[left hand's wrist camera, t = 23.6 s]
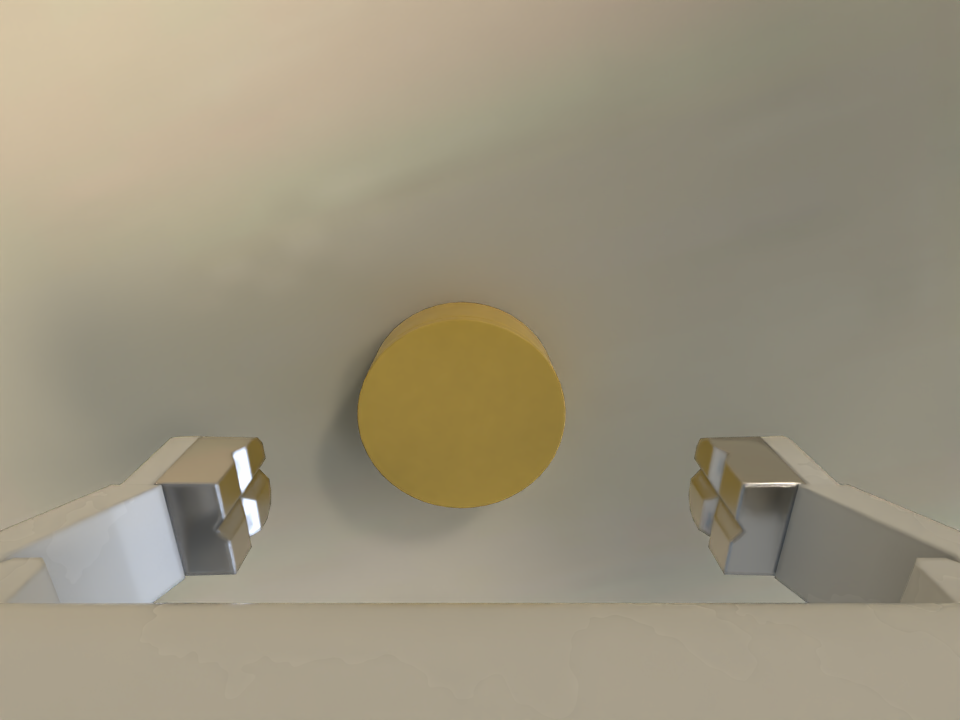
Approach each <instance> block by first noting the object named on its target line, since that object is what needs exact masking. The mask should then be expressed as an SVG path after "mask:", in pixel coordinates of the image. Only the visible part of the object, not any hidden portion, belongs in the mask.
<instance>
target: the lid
mask: <svg viewBox="0 0 960 720" xmlns="http://www.w3.org/2000/svg"><path fill="white" fill-rule="evenodd" d="M357 419H358V427H359V433H360V436H361V440H362V443H363V445H364V448H365V450H366V452H367V454H368V456H369V458H370V459H371V461H372V462H373V464H374V466H375V467H376V468H377V469H378V470H379V472H380V473H381V474H382V475H383V476H384V477H385V478H386V479H387V480H388V481H389V482H390V483H391V484H393V485H394V486H395V487H397V488H398V489H400V490H401V491H403V492H404V493H406V494H408V495H410V496H411V497H414V498H416V499H418V500H421V501H423V502H427V503H430V504H433V505H438V506H444V507H451V508H472V507H479V506H485V505H489V504H493V503H496V502H499V501H502V500H504V499H507V498H509V497H511V496H513V495H515V494H517V493H518V492H520V491H522V490H523V489H525V488H526V487H527V486H529V485H530V484H531V483H533V482H534V481H535V480H536V479H537V478H538V477H539V476H540V475H541V474H542V473H543V471H544V470H545V469H546V468H547V467H548V465H549V464H550V462H551V461H552V459H553V458H554V456H555V454H556V452H557V450H558V448H559V445H560V443H561V439H562V436H563V433H564V427H565V419H566V407H565V400H564V394H563V391H562V387H561V384H560V381H559V379H558V377H557V375H556V372H555V370H554V368H553V366H552V363H551V361H550V359H549V357H548V354H547V352H546V350H545V348H544V347H543V345H542V344H541V342H540V340H539V339H538V338H537V337H536V336H535V334H534V333H533V332H532V331H531V330H530V329H529V328H528V327H527V326H526V325H524V324H523V323H522V322H521V321H519V320H518V319H516V318H515V317H513V316H512V315H510V314H508V313H506V312H504V311H502V310H499V309H497V308H494V307H491V306H487V305H483V304H478V303H468V302H456V303H446V304H441V305H436V306H433V307H430V308H427V309H424V310H422V311H420V312H418V313H416V314H414V315H412V316H411V317H409V318H408V319H406V320H404V321H403V322H402V323H401V324H399V325H398V326H397V327H396V328H395V329H394V330H393V331H392V332H391V333H390V334H389V335H388V336H387V338H386V339H385V340H384V342H383V343H382V345H381V346H380V348H379V350H378V352H377V354H376V356H375V358H374V360H373V362H372V365H371V367H370V369H369V371H368V373H367V375H366V377H365V379H364V382H363V385H362V388H361V391H360V394H359V401H358V414H357Z"/></svg>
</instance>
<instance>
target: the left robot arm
mask: <svg viewBox="0 0 960 720" xmlns="http://www.w3.org/2000/svg"><path fill="white" fill-rule="evenodd" d="M265 459H266V457H265V453H264V448H263V443H262V442H261V441H260V440H259V439H258V438H257V437H209V436H205V437H203V436H179V437H171V438H170V439H169V440H168V441H167V442H166V443H165V444H164V445H163V446H162V447H161V448H160V449H158V450H157V451H156V452H155V453H154V454H153V455H152V456H151V457H150V458H149V459H148V460H147V461H146V462H144V463H143V464H142V465H141V466H140V467H139V468H138V469H137V470H136V471H135V472H134V473H133V474H132V475H131V476H129V477H128V478H127V479H126V480H125V481H124V482H123V483H122V484H121V485H110V486H107V487H105V488H102V489H100V490H98V491H95V492H93V493H90V494H88V495H86V496H83V497H81V498H78V499H76V500H73V501H71V502H69V503H66V504H64V505H61V506H59V507H57V508H54V509H52V510H49V511H47V512H45V513H42V514H40V515H37V516H35V517H33V518H30V519H28V520H25V521H23V522H21V523H18V524H16V525H13V526H11V527H9V528H6V529H4V530H1V531H0V720H960V531H958V530H956V529H954V528H951V527H949V526H946V525H944V524H942V523H939V522H937V521H934V520H932V519H930V518H927V517H925V516H922V515H920V514H918V513H915V512H913V511H910V510H908V509H906V508H903V507H901V506H898V505H896V504H894V503H891V502H889V501H886V500H884V499H882V498H879V497H877V496H874V495H872V494H870V493H867V492H865V491H862V490H860V489H858V488H855V487H853V486H850V485H839V484H838V483H837V482H836V481H835V480H834V479H833V478H832V477H831V476H830V475H828V474H827V473H826V472H825V471H824V470H823V469H822V468H821V467H820V466H819V465H818V464H817V463H816V462H815V461H813V460H812V459H811V458H810V457H809V456H808V455H807V454H806V453H805V452H804V451H803V450H802V449H801V448H800V447H799V446H797V445H796V444H795V443H794V442H793V441H792V440H791V439H790V438H788V437H784V436H764V437H760V436H759V437H717V438H701V439H700V440H699V442H698V445H697V447H696V452H695V457H694V459H695V460H696V462H697V463H698V465H699V467H700V468H701V469H700V470H699V471H698V472H697V473H696V474H695V475H694V476H693V477H692V478H691V481H690V488H689V504H690V511H691V514H692V517H693V520H694V522H695V524H696V526H697V528H698V530H700V531H702V532H703V533H705V534H706V535H708V536H709V537H710V540H709V546H708V547H709V549H710V551H711V552H712V554H713V556H714V557H715V559H716V561H717V563H718V564H719V566H720V568H721V570H722V571H723V573H724V574H734V575H771V576H775V579H777V580H778V581H779V582H781V583H782V584H783V585H785V586H786V587H787V588H789V589H790V590H791V591H793V592H794V593H795V594H797V595H798V596H799V597H800V598H802V599H803V600H804V601H806V602H807V603H153V602H154V601H156V600H157V599H158V598H160V597H161V596H162V595H164V594H165V593H166V592H168V591H169V590H170V589H172V588H173V587H174V586H176V585H177V584H178V583H180V582H181V581H182V580H183V579H185V576H189V575H225V574H236V573H237V571H238V570H239V568H240V566H241V564H242V563H243V561H244V559H245V558H246V556H247V554H248V552H249V551H250V549H251V547H252V546H251V540H250V537H251V536H252V535H254V534H255V533H257V532H258V531H260V530H262V528H263V526H264V524H265V522H266V520H267V518H268V514H269V510H270V505H271V487H270V481H269V478H268V477H267V476H266V475H265V474H264V473H263V472H262V471H261V470H260V469H259V468H260V467H261V465H262V464H263V462H264V460H265Z"/></svg>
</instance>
